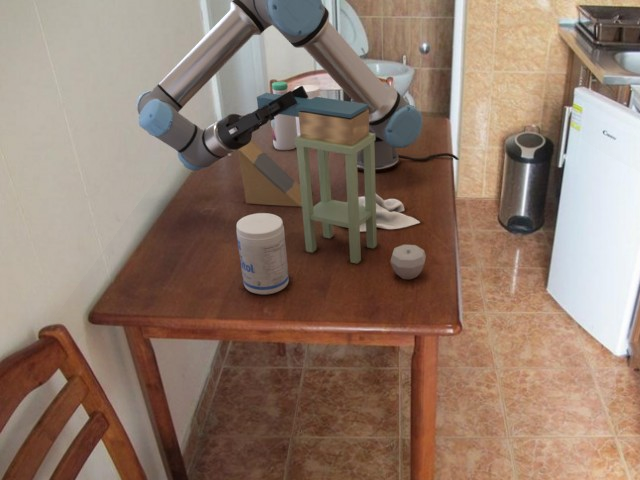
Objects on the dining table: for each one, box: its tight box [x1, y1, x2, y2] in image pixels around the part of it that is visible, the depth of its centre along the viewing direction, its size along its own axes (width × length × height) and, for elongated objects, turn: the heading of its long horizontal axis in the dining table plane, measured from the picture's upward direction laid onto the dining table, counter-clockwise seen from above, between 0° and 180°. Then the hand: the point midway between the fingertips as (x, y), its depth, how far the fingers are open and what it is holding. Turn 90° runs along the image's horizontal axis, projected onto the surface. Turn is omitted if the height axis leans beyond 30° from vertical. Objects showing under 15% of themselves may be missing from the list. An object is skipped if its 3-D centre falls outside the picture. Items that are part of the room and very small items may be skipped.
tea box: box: [299, 109, 369, 146], centre depth 139 cm, size 12×8×5 cm, turn 64°
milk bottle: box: [270, 81, 297, 151], centre depth 206 cm, size 8×8×20 cm
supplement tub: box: [235, 212, 290, 295], centre depth 137 cm, size 10×10×15 cm
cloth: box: [358, 193, 421, 233], centre depth 167 cm, size 22×19×6 cm
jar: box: [293, 84, 323, 137], centre depth 218 cm, size 12×10×15 cm
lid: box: [256, 92, 369, 118], centre depth 140 cm, size 24×8×3 cm, turn 64°
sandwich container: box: [237, 139, 302, 208], centre depth 174 cm, size 9×15×15 cm, turn 81°
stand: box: [294, 133, 378, 265], centre depth 147 cm, size 14×10×27 cm
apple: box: [389, 244, 427, 280], centre depth 143 cm, size 8×8×7 cm
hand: (298, 94), depth 139 cm, fingers closed on lid, 4 cm apart
